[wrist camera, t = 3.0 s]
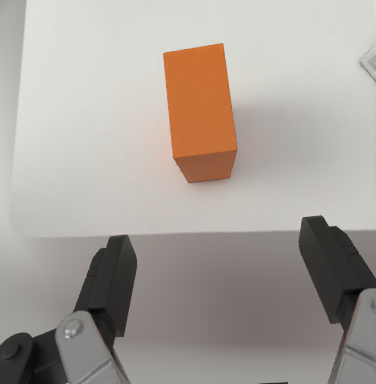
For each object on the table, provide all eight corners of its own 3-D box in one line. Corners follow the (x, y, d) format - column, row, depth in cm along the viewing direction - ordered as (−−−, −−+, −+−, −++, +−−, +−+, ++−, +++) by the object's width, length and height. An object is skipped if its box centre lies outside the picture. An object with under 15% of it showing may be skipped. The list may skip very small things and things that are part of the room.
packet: (188, 183, 28) (173, 158, 18) (180, 111, 29) (162, 52, 20) (229, 177, 28) (237, 149, 18) (220, 106, 29) (223, 42, 19)
